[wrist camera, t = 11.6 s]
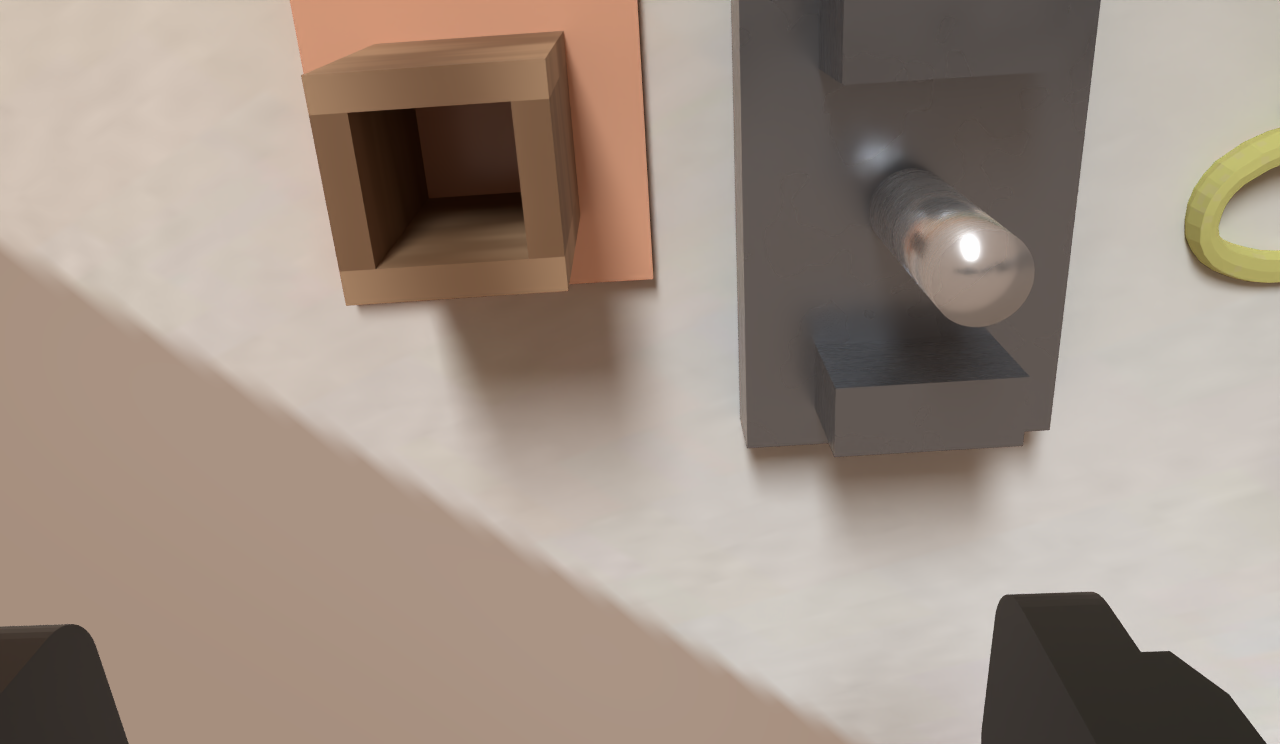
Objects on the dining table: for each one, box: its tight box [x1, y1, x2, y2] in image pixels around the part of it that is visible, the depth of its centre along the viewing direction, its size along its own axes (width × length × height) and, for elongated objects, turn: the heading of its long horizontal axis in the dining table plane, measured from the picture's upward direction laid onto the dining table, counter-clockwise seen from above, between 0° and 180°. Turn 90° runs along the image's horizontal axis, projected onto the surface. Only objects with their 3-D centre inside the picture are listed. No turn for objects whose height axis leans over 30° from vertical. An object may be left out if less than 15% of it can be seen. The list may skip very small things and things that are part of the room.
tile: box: [290, 0, 653, 284], centre depth 27 cm, size 9×9×1 cm
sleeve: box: [301, 31, 580, 306], centre depth 24 cm, size 5×5×6 cm
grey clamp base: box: [731, 0, 1101, 457], centre depth 25 cm, size 9×14×8 cm, turn 3°
